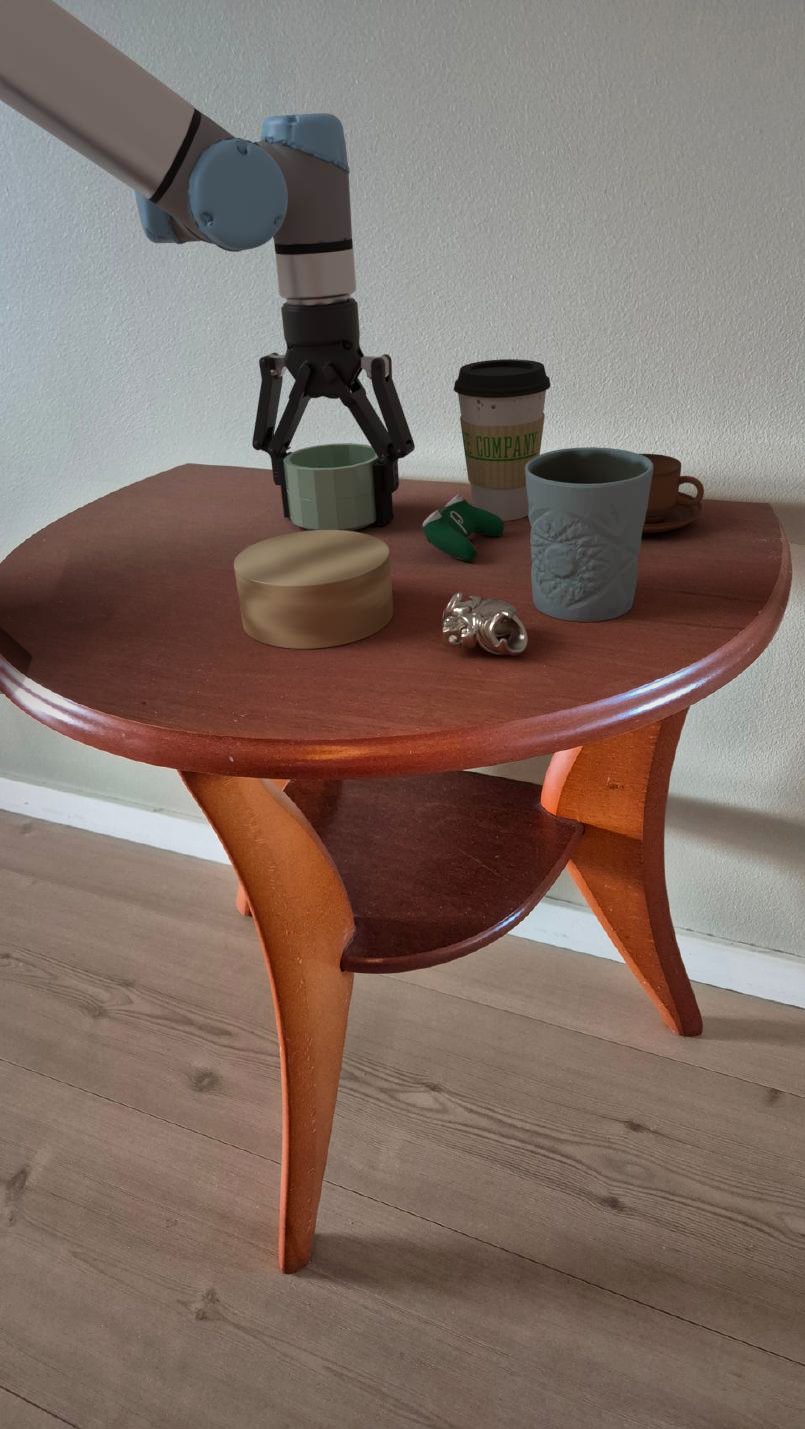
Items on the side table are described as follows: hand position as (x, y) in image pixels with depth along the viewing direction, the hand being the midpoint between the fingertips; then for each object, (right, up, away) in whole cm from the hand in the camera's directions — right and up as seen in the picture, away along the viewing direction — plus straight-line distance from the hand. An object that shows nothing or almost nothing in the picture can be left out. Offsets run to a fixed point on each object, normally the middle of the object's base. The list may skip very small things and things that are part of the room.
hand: (338, 517), depth 107 cm
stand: (0, -13, -22) cm, 26 cm away
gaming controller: (+13, -5, -9) cm, 17 cm away
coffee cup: (+18, 0, 0) cm, 18 cm away
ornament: (+13, -16, -29) cm, 35 cm away
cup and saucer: (+31, -2, -6) cm, 32 cm away
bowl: (0, 0, 0) cm, 0 cm away
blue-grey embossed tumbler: (+22, -12, -23) cm, 34 cm away
